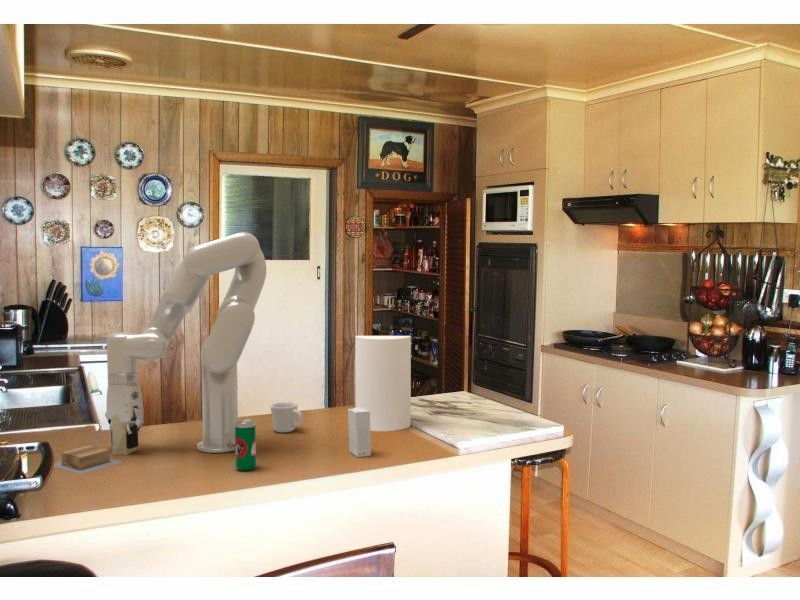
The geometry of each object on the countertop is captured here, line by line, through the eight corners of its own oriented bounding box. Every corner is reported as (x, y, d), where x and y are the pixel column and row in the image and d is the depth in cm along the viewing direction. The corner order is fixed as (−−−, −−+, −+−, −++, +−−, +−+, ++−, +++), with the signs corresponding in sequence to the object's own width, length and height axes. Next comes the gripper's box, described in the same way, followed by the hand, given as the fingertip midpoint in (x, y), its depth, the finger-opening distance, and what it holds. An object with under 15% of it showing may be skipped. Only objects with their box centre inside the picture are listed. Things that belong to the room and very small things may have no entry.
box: (126, 457, 186) (125, 416, 185) (111, 456, 186) (110, 415, 186) (137, 452, 191) (136, 411, 190) (123, 451, 192) (122, 411, 191)
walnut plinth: (109, 462, 179) (109, 449, 179) (80, 470, 172) (80, 457, 172) (91, 456, 184) (90, 444, 183) (61, 464, 177) (61, 452, 177)
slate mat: (124, 465, 179) (124, 462, 179) (80, 477, 169) (80, 474, 169) (91, 456, 187) (91, 453, 187) (47, 467, 177) (47, 464, 177)
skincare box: (371, 455, 188) (371, 411, 187) (356, 458, 186) (356, 412, 185) (362, 450, 193) (362, 406, 192) (347, 452, 191) (347, 407, 190)
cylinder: (410, 431, 213) (410, 339, 211) (353, 431, 213) (353, 339, 211) (410, 417, 230) (410, 332, 228) (357, 417, 230) (357, 332, 228)
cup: (310, 431, 213) (310, 405, 213) (292, 436, 206) (292, 410, 206) (283, 426, 219) (283, 400, 218) (265, 431, 212) (265, 405, 212)
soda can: (256, 471, 174) (255, 423, 174) (235, 472, 173) (234, 424, 173) (256, 465, 179) (255, 418, 179) (235, 466, 178) (235, 419, 177)
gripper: (155, 380, 186) (157, 447, 187) (115, 373, 195) (117, 437, 196) (131, 384, 179) (132, 454, 181) (90, 377, 189) (92, 444, 190)
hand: (124, 445), depth 188 cm, fingers closed on box, 5 cm apart
